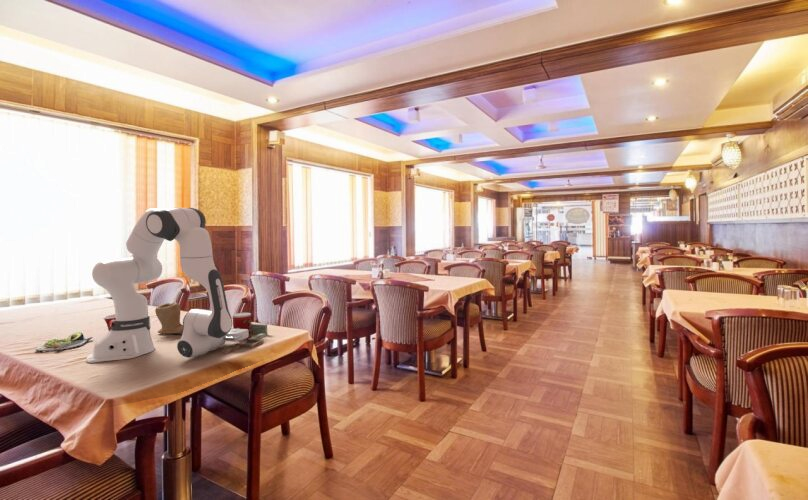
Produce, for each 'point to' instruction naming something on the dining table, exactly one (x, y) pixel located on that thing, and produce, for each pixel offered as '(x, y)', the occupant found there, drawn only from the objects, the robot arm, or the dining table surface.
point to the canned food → (243, 322)
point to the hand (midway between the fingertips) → (236, 329)
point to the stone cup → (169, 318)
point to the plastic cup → (108, 319)
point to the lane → (257, 330)
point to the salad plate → (65, 342)
